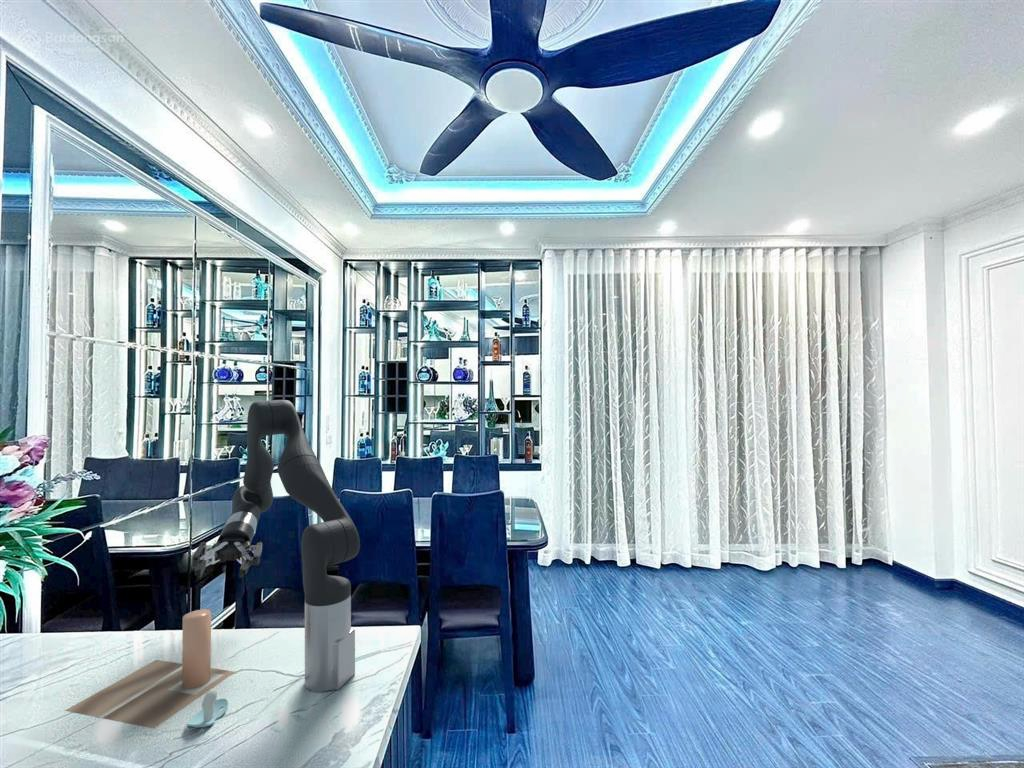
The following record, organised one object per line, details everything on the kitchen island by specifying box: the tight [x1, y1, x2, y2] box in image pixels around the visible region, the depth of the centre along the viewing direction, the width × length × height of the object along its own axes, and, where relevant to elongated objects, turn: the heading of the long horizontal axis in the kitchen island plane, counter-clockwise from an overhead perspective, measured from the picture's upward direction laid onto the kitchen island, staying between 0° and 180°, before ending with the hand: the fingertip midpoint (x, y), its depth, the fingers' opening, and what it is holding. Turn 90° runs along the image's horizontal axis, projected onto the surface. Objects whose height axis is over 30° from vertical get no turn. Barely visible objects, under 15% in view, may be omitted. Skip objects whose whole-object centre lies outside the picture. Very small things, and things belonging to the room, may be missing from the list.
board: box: [64, 659, 236, 729], centre depth 95 cm, size 22×18×1 cm
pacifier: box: [183, 687, 229, 731], centre depth 86 cm, size 7×6×6 cm
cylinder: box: [181, 608, 212, 690], centre depth 98 cm, size 5×5×14 cm
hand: (220, 574), depth 108 cm, fingers open, 8 cm apart
